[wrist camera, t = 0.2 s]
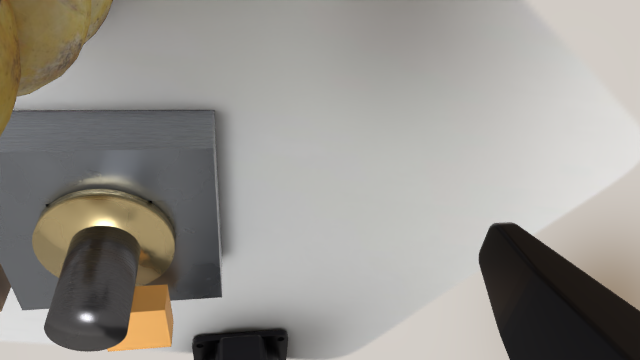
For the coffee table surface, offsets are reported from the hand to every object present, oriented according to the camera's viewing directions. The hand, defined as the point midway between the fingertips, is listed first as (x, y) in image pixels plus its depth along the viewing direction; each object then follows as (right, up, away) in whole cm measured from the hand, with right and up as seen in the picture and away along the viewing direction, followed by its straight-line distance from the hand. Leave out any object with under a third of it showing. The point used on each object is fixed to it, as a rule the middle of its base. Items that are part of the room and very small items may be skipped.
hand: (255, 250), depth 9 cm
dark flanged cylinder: (-9, +1, +17) cm, 19 cm away
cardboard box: (-8, -5, +16) cm, 19 cm away
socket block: (-9, +1, +17) cm, 19 cm away
